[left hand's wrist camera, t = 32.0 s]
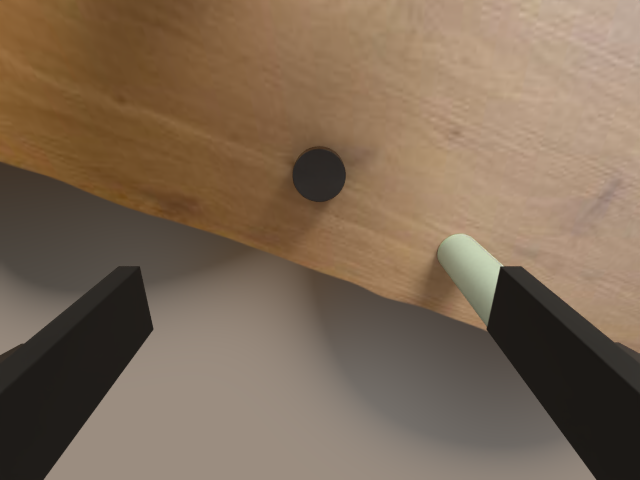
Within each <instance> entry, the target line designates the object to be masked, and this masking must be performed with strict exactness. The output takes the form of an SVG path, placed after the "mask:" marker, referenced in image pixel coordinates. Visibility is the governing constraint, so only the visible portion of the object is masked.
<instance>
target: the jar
mask: <svg viewBox="0 0 640 480" xmlns="http://www.w3.org/2000/svg"><path fill="white" fill-rule="evenodd" d="M437 257H438V261H439V263H440V264H441V265H442V267H443V268H444V269H445V271H446V272H447V273H448V275H449V276H450V278H451V279H452V280H453V282H454V283H455V284H456V286H457V287H458V288H459V290H460V291H461V292H462V294H463V295H464V296H465V298H466V299H467V300H468V302H469V303H470V304H471V306H472V307H473V309H474V310H475V311H476V313H477V314H478V315H479V317H480V318H481V319H482V321H483V322H484V323H485V325H486V326H487V325H488V320H489V316H490V311H491V307H492V302H493V297H494V293H495V288H496V284H497V279H498V275H499V270H500V266H503V265H502V264H501V263H500V262H499V261H497V260H496V259H495V258H494V257H493V256H492V255H491V254H490V253H489V252H487V251H486V250H485V249H484V248H483V247H482V246H481V245H480V244H478V243H477V242H476V241H475V240H474V239H473V238H472V237H470V236H468V235H465V234H455V235H452V236H450V237H448V238H446V239H445V240H444V241H443V242H442V243H441V244H440V246H439V248H438V252H437Z"/></svg>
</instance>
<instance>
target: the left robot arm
mask: <svg viewBox="0 0 640 480" xmlns="http://www.w3.org/2000/svg"><path fill="white" fill-rule="evenodd" d="M152 331H153V325H152V320H151V316H150V311H149V307H148V302H147V298H146V293H145V289H144V284H143V279H142V275H141V270H140V267H139V266H119V267H117V268H116V269H115V270H114V271H113V272H111V273H110V274H109V275H108V276H106V277H105V278H104V279H103V280H101V281H100V282H99V283H98V284H97V285H95V286H94V287H93V288H92V289H91V290H89V291H88V292H87V293H86V294H84V295H83V296H82V297H81V298H80V299H78V300H77V301H76V302H75V303H73V304H72V305H71V306H70V307H69V308H67V309H66V310H65V311H64V312H62V313H61V314H60V315H59V316H58V317H56V318H55V319H54V320H53V321H51V322H50V323H49V324H48V325H47V326H45V327H44V328H43V329H42V330H41V331H39V332H38V333H37V334H36V335H34V336H33V337H32V338H31V339H29V340H28V341H27V342H26V343H25V344H20V345H18V346H16V347H15V348H13V349H11V350H9V351H7V352H5V353H4V354H2V355H0V480H44V478H45V477H46V475H47V474H48V473H49V471H50V470H51V469H52V467H53V466H54V465H55V463H56V462H57V461H58V459H59V458H60V456H61V455H62V454H63V452H64V451H65V450H66V448H67V447H68V445H69V444H70V443H71V441H72V440H73V439H74V437H75V436H76V435H77V433H78V432H79V430H80V429H81V428H82V426H83V425H84V424H85V422H86V421H87V420H88V418H89V417H90V415H91V414H92V413H93V411H94V410H95V409H96V407H97V406H98V404H99V403H100V402H101V400H102V399H103V398H104V396H105V395H106V394H107V392H108V391H109V389H110V388H111V387H112V385H113V384H114V383H115V381H116V380H117V378H118V377H119V376H120V374H121V373H122V372H123V370H124V369H125V367H126V366H127V365H128V363H129V362H130V361H131V359H132V358H133V357H134V355H135V354H136V353H137V351H138V350H139V348H140V347H141V346H142V344H143V343H144V342H145V340H146V339H147V337H148V336H149V335H150V333H151V332H152ZM487 331H488V332H489V333H490V335H491V336H492V337H493V339H494V340H495V342H496V343H497V344H498V346H499V347H500V348H501V350H502V351H503V353H504V354H505V355H506V356H507V358H508V359H509V361H510V362H511V363H512V365H513V366H514V368H515V369H516V370H517V372H518V373H519V374H520V376H521V377H522V378H523V380H524V381H525V383H526V384H527V385H528V387H529V388H530V389H531V391H532V392H533V393H534V395H535V396H536V398H537V399H538V400H539V402H540V403H541V404H542V406H543V407H544V409H545V410H546V411H547V413H548V414H549V415H550V417H551V418H552V419H553V421H554V422H555V424H556V425H557V426H558V428H559V429H560V430H561V432H562V433H563V434H564V436H565V437H566V439H567V440H568V441H569V443H570V444H571V445H572V447H573V448H574V450H575V451H576V452H577V454H578V455H579V456H580V458H581V459H582V460H583V462H584V463H585V465H586V466H587V467H588V469H589V470H590V471H591V473H592V474H593V476H594V477H595V478H596V480H640V354H639V353H637V352H636V351H634V350H632V349H630V348H628V347H626V346H624V345H623V344H621V343H614V342H613V341H612V340H611V339H609V338H608V337H607V336H606V335H604V334H603V333H602V332H601V331H600V330H598V329H597V328H596V327H595V326H593V325H592V324H591V323H590V322H589V321H587V320H586V319H585V318H584V317H582V316H581V315H580V314H579V313H578V312H576V311H575V310H574V309H573V308H571V307H570V306H569V305H568V304H567V303H565V302H564V301H563V300H562V299H560V298H559V297H558V296H557V295H556V294H554V293H553V292H552V291H551V290H549V289H548V288H547V287H546V286H545V285H543V284H542V283H541V282H540V281H539V280H537V279H536V278H535V277H534V276H532V275H531V274H530V273H529V272H528V271H526V270H525V269H524V268H523V267H521V266H500V270H499V275H498V279H497V284H496V288H495V293H494V297H493V302H492V307H491V311H490V316H489V320H488V325H487Z"/></svg>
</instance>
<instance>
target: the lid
mask: <svg viewBox="0 0 640 480" xmlns="http://www.w3.org/2000/svg"><path fill="white" fill-rule="evenodd" d="M345 178H346V172H345V168H344V165H343V162H342V160H341V158H340V157H339V156H338V154H337V153H336V152H334V151H333V150H331V149H329V148H326V147H321V146H318V147H312V148H309V149H307V150H306V151H304V152H303V153H302V154H301V155H300V156H299V157H298V159H297V161H296V163H295V166H294V169H293V181H294V185H295V187H296V189H297V190H298V192H299V193H300V194H301V195H302V196H303V197H305V198H307V199H309V200H311V201H316V202H323V201H327V200H330V199H332V198H334V197H335V196H336V195H337V194H338V193H339V192H340V191H341V190H342V188H343V186H344V183H345Z"/></svg>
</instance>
